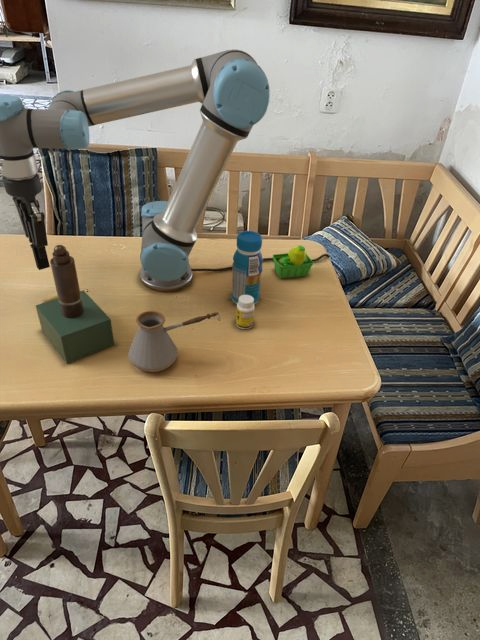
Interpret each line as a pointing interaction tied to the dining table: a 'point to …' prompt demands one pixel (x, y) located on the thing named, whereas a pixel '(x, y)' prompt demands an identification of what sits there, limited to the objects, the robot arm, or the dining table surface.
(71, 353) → the cabinet
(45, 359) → the dining table surface
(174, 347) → the coffee pot
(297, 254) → the fruit basket
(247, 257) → the beverage bottle
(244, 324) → the supplement bottle
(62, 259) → the pepper mill
